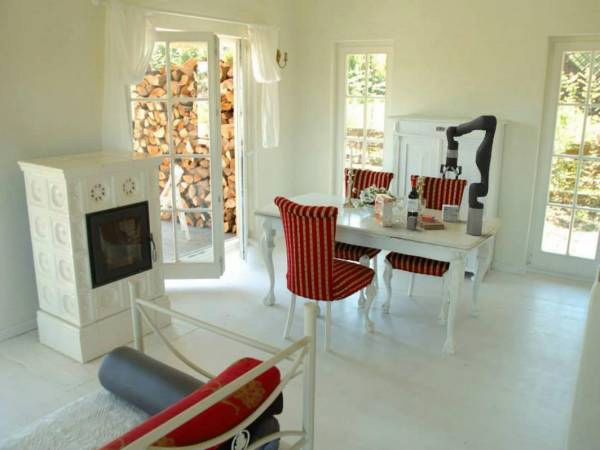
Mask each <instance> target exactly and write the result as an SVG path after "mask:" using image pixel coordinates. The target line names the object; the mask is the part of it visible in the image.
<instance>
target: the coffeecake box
mask: <svg viewBox="0 0 600 450" xmlns="http://www.w3.org/2000/svg"><path fill="white" fill-rule="evenodd" d="M374 199H375V201H374V215H373V217H374V218H373V222H374V223H376V224H377V225H379V226H380V227H382V228H384V227H392V220H393V207H394V205H393V204H394V198H393V197H392V196H390V195H387V194H385V193H375V197H374Z"/></svg>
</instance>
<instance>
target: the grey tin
mask: <svg viewBox="0 0 600 450" xmlns="http://www.w3.org/2000/svg"><path fill="white" fill-rule="evenodd" d="M417 217H418V216H414V215H413V216H412V215H409V216H408V217H407V218H406V219H407V220H406V229H407V230H409V231H410V230H411V231H416V230H417V227H418V225H417Z"/></svg>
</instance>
